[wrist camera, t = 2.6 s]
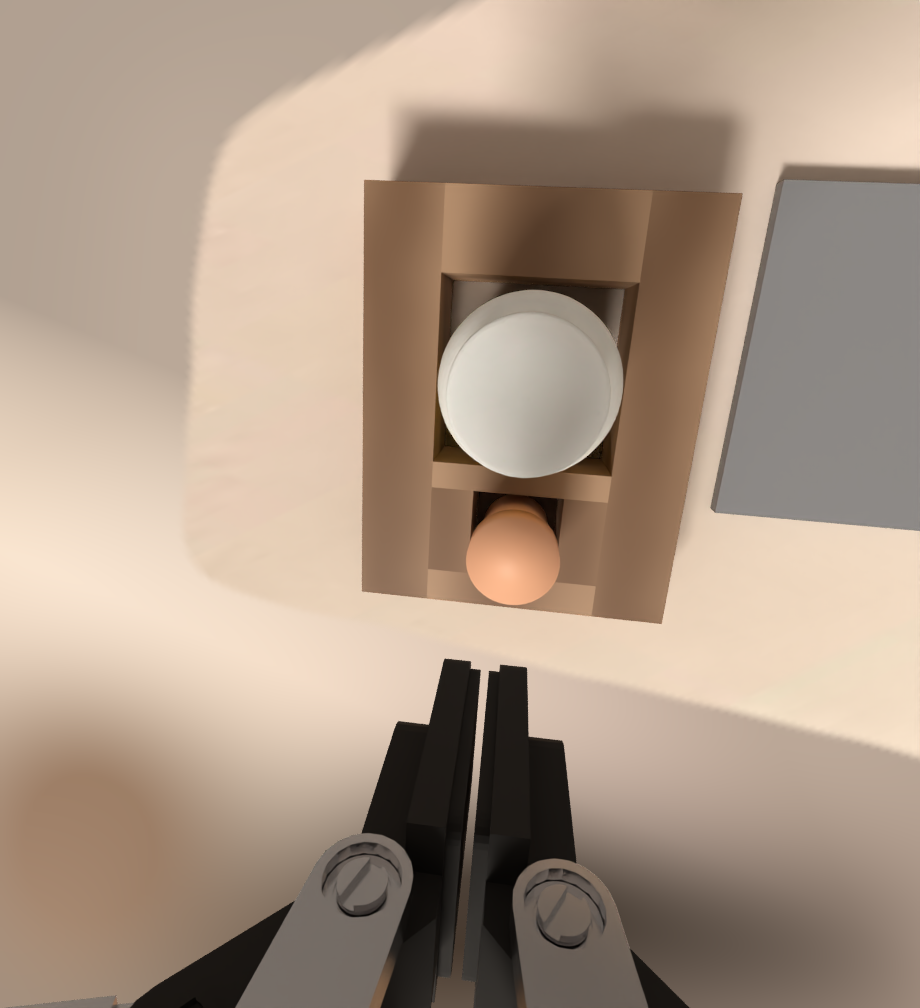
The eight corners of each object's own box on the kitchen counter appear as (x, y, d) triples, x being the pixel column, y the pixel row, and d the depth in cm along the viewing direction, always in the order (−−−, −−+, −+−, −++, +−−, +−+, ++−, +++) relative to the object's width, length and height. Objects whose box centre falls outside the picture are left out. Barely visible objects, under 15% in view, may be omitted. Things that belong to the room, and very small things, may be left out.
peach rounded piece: (559, 490, 22) (565, 523, 18) (550, 564, 23) (554, 609, 19) (479, 483, 22) (468, 514, 19) (473, 556, 23) (463, 599, 20)
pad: (1156, 196, 18) (1175, 192, 18) (1024, 535, 22) (1037, 541, 21) (776, 184, 20) (784, 179, 19) (710, 508, 23) (715, 512, 23)
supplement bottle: (617, 325, 22) (683, 320, 12) (570, 454, 23) (596, 533, 14) (485, 284, 22) (453, 249, 13) (447, 415, 23) (395, 468, 14)
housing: (712, 213, 20) (742, 193, 17) (646, 589, 25) (661, 623, 22) (386, 200, 21) (364, 180, 18) (380, 562, 26) (361, 591, 23)
